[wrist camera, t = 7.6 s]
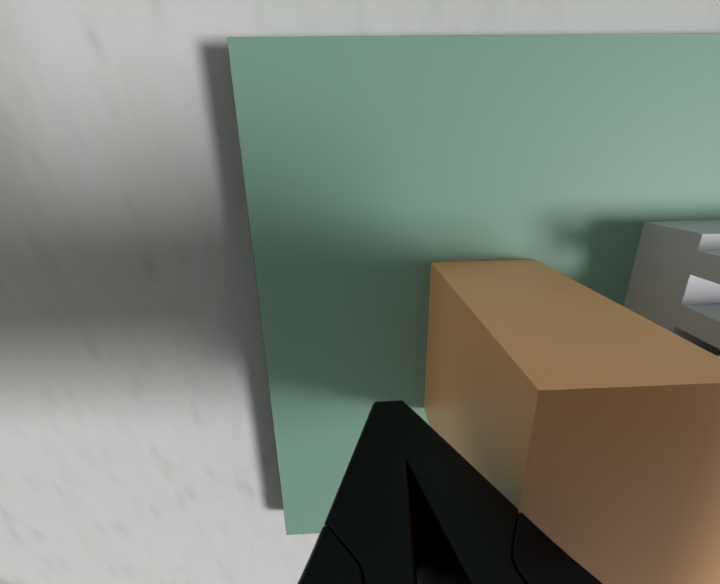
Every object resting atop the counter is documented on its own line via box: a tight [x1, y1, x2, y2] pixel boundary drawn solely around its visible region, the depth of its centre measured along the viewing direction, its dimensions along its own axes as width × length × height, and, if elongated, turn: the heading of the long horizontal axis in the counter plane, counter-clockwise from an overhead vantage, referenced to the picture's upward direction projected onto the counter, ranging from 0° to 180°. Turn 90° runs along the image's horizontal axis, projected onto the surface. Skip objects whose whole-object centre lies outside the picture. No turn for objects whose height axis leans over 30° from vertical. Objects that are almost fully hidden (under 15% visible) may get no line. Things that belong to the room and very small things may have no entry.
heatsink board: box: [227, 33, 720, 535], centre depth 10 cm, size 23×16×6 cm
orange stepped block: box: [424, 259, 720, 584], centre depth 9 cm, size 6×5×6 cm
